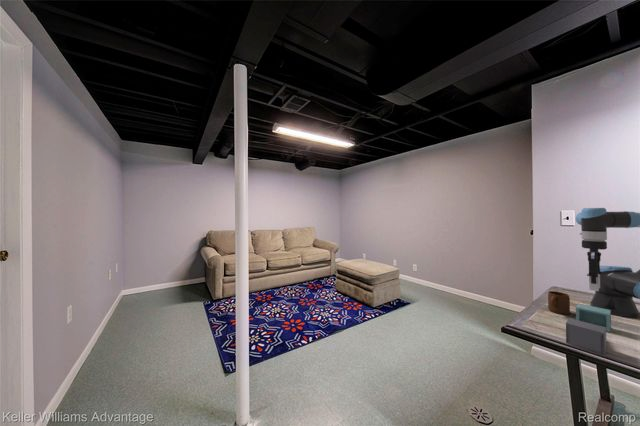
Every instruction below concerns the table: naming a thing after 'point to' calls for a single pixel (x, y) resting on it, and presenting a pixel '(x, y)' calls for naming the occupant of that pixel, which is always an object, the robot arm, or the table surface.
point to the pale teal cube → (594, 315)
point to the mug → (559, 302)
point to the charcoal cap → (586, 335)
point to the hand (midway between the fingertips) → (594, 288)
